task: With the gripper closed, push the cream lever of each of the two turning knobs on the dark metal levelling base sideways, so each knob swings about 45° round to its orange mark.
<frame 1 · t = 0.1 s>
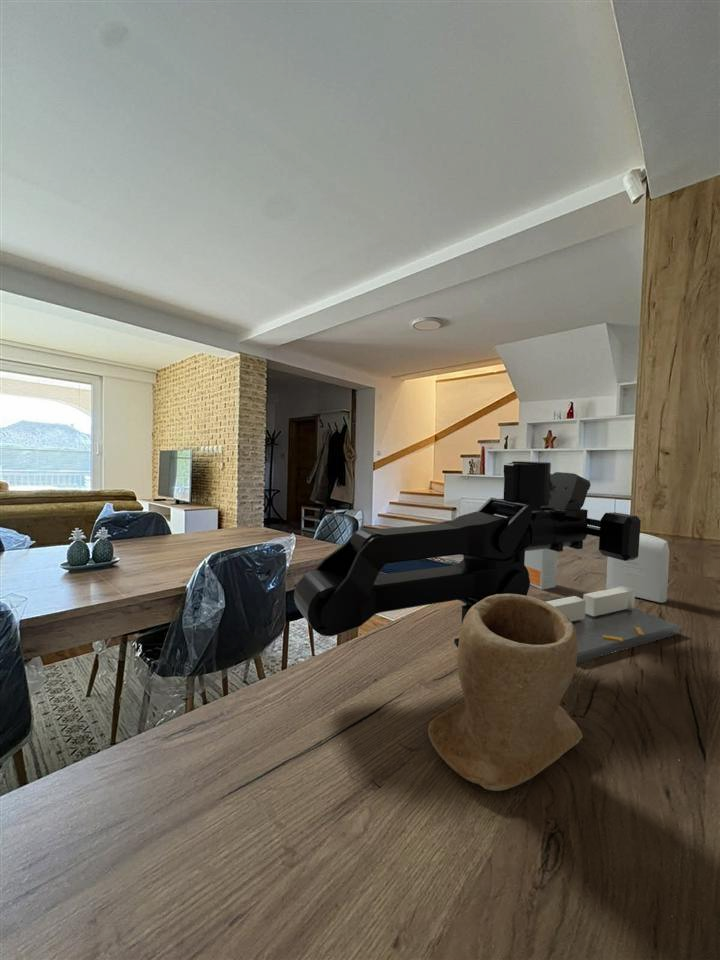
hand: (611, 523, 69), 17 cm above the counter, tool horizontal, fingers open, 9 cm apart
levelling base: (589, 630, 66), on the counter
photo printer: (634, 596, 82), on the counter
stone cup: (512, 753, 40), on the counter
knob b: (609, 600, 70), point 3 cm above the counter, hinge at 0.0°
skincare box: (537, 585, 88), on the counter
knob a: (556, 611, 65), point 3 cm above the counter, hinge at 0.0°
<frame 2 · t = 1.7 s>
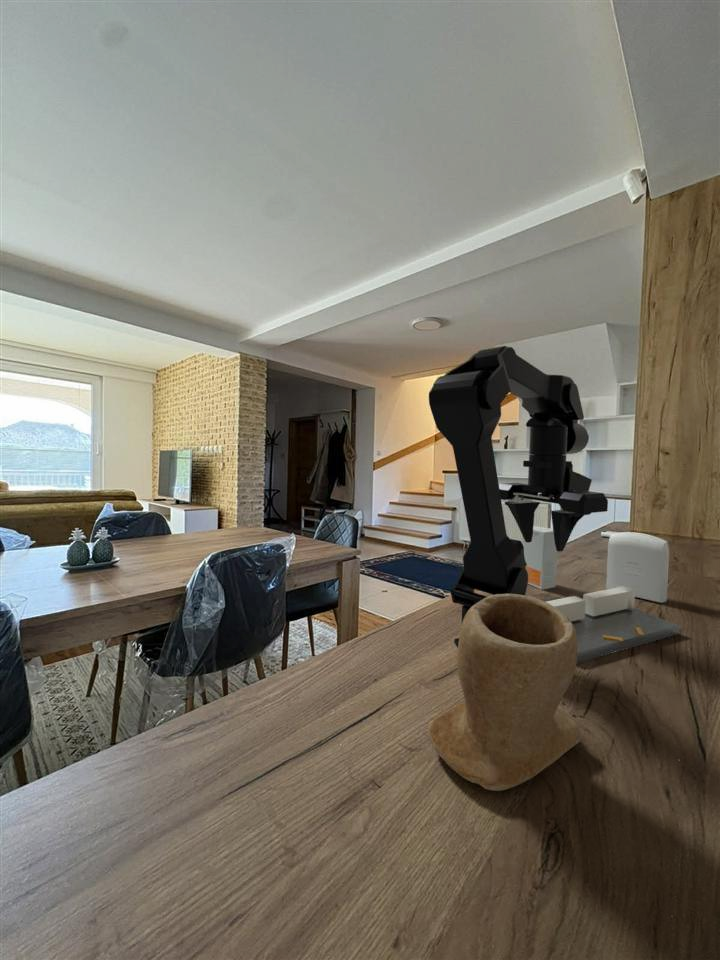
hand: (543, 546, 71), 12 cm above the counter, tool pointing down, fingers open, 6 cm apart
nothing on the counter moved.
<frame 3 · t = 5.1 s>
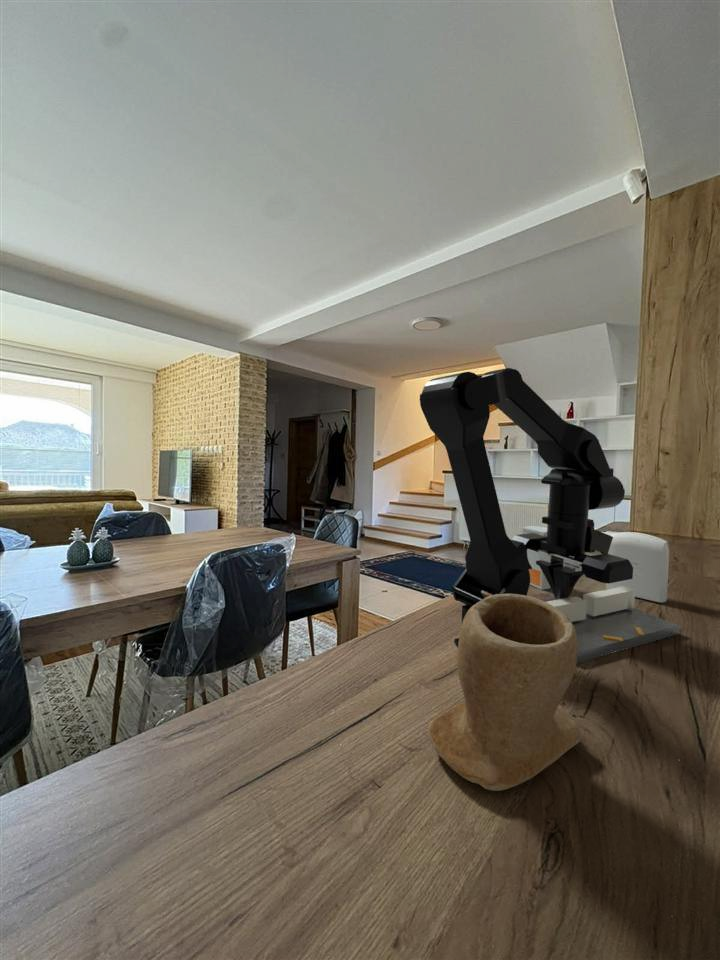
hand: (561, 606, 68), 3 cm above the counter, tool pointing down, fingers closed
knob a: (557, 612, 65), point 3 cm above the counter, hinge at 1.4°, touching gripper
everything else where it was.
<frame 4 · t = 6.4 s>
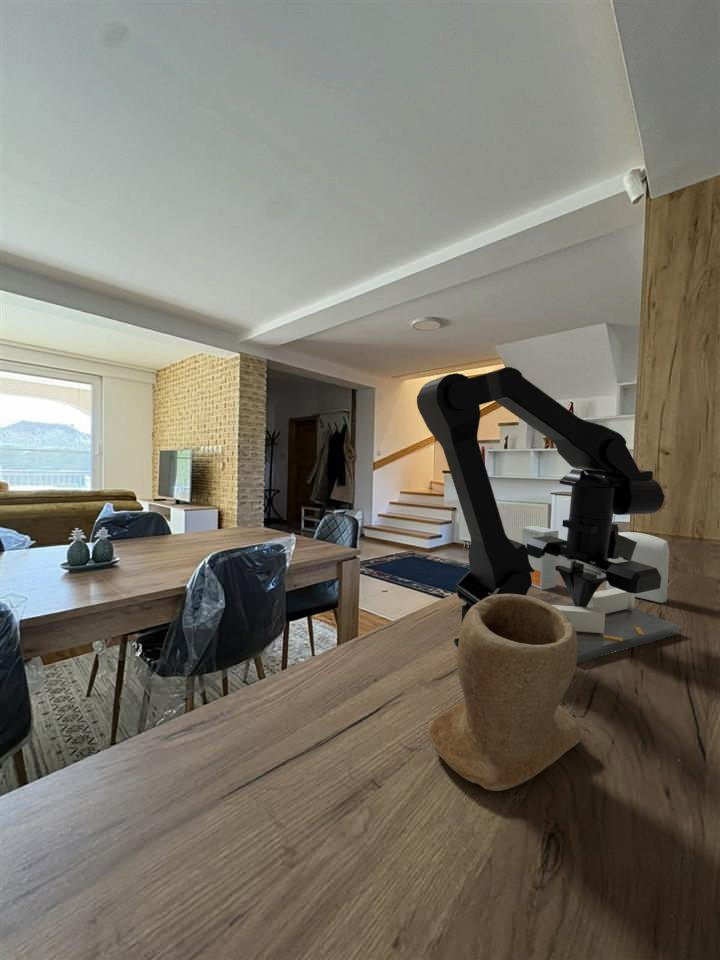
hand: (580, 614, 65), 3 cm above the counter, tool pointing down, fingers closed
knob a: (565, 617, 63), point 3 cm above the counter, hinge at 33.3°, touching gripper
everything else where it was.
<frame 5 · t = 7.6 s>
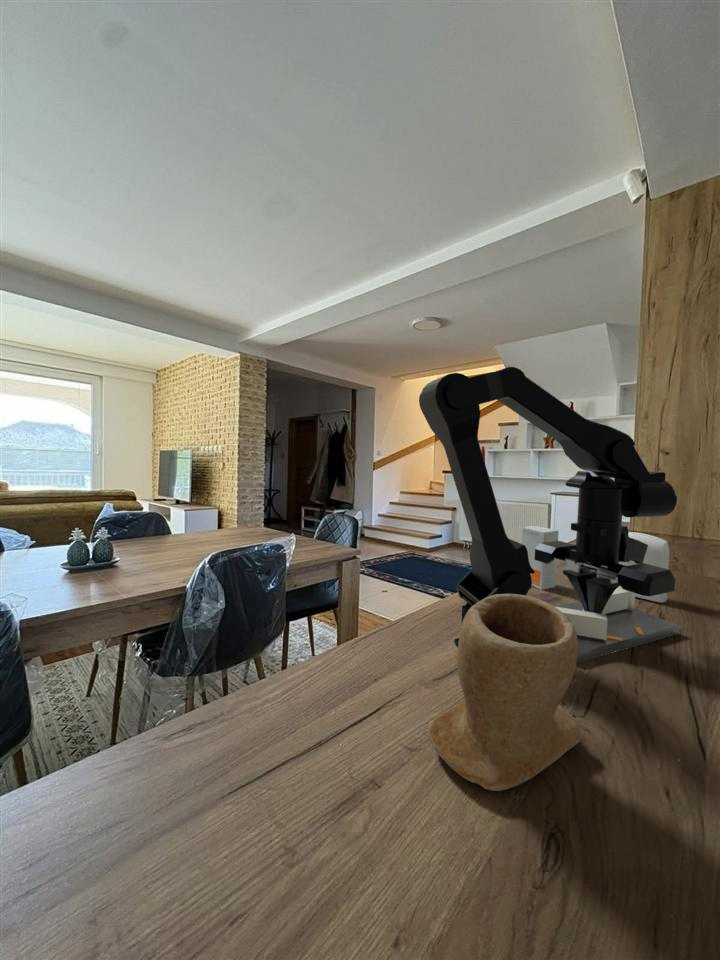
hand: (593, 620, 63), 3 cm above the counter, tool pointing down, fingers closed
knob a: (566, 620, 62), point 3 cm above the counter, hinge at 48.5°, touching gripper
everything else where it was.
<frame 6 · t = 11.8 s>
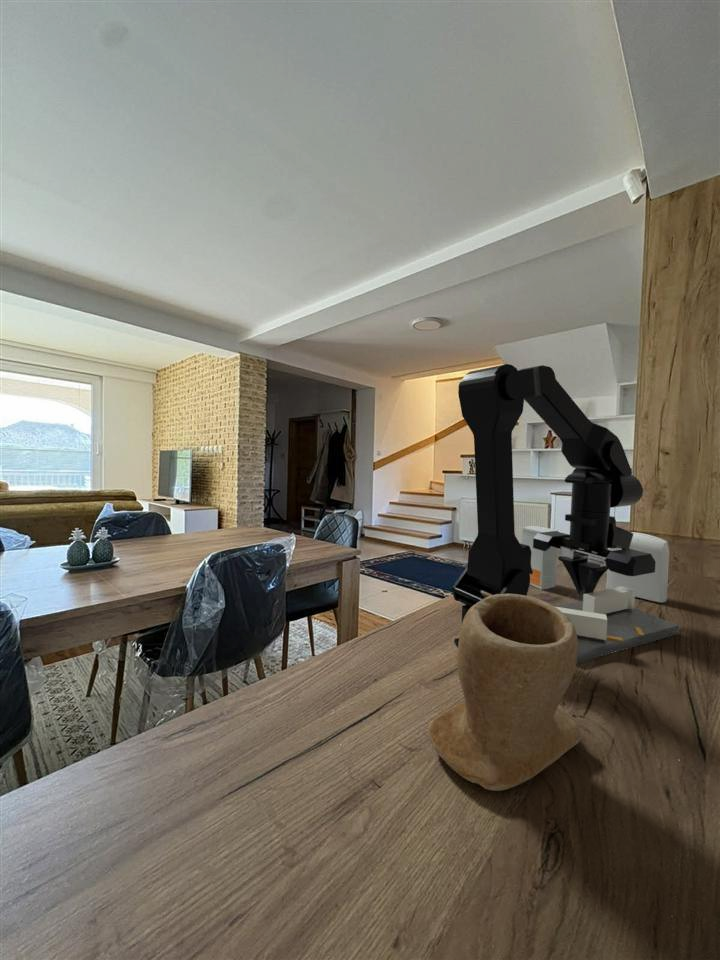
hand: (585, 600, 71), 3 cm above the counter, tool pointing down, fingers closed
knob b: (609, 600, 70), point 3 cm above the counter, hinge at 0.0°, touching gripper
knob a: (566, 620, 62), point 3 cm above the counter, hinge at 48.7°
everything else where it was.
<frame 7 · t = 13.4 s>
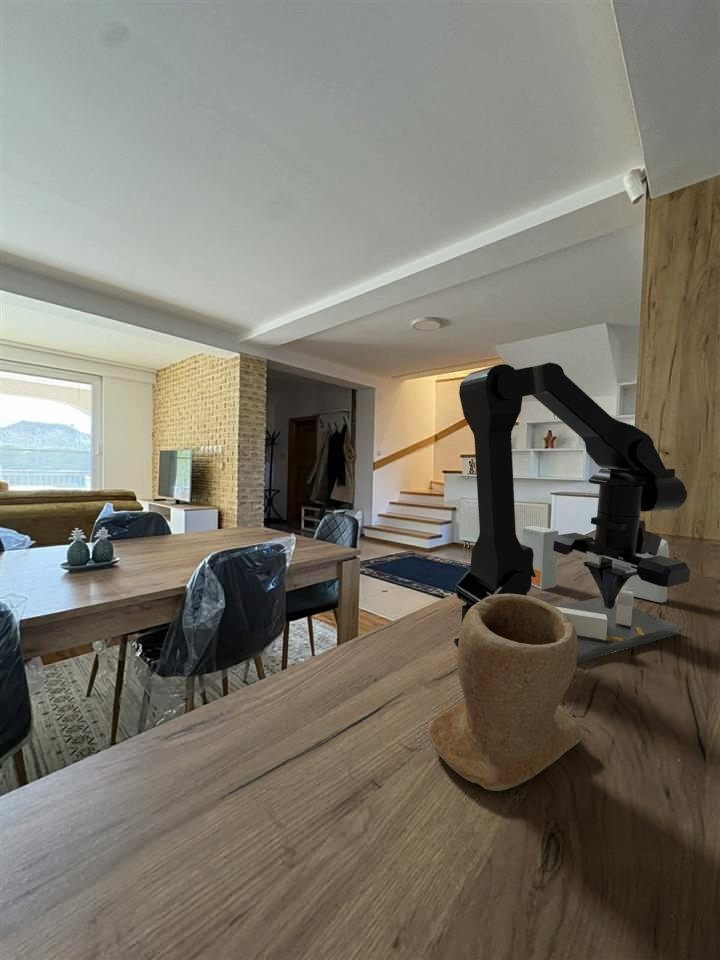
hand: (609, 607, 67), 3 cm above the counter, tool pointing down, fingers closed
knob b: (624, 604, 68), point 3 cm above the counter, hinge at 33.3°, touching gripper
everything else where it was.
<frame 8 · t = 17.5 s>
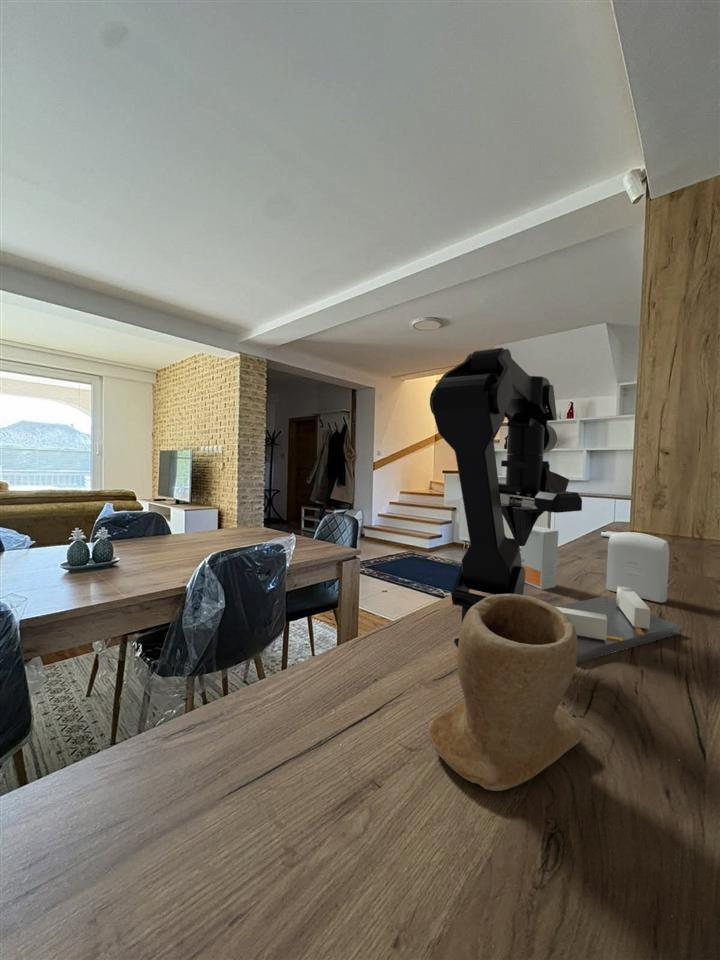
hand: (521, 545, 72), 12 cm above the counter, tool pointing down, fingers closed
knob b: (631, 605, 68), point 3 cm above the counter, hinge at 48.3°
everything else where it was.
at the end: knob a at +49° (first picture: +0°); knob b at +48° (first picture: +0°) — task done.
